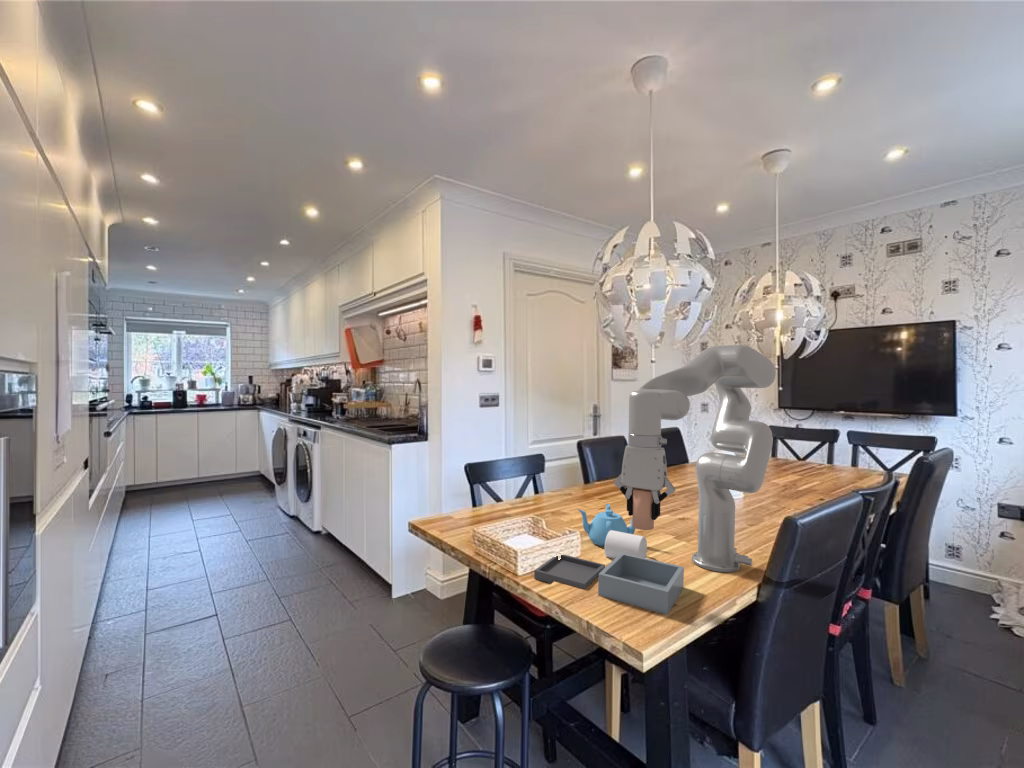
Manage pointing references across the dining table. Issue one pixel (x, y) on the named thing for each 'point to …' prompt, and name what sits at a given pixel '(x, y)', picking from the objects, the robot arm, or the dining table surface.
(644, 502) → the cylinder
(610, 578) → the bin
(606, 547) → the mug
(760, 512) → the dining table surface
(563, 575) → the tray
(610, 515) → the teapot
